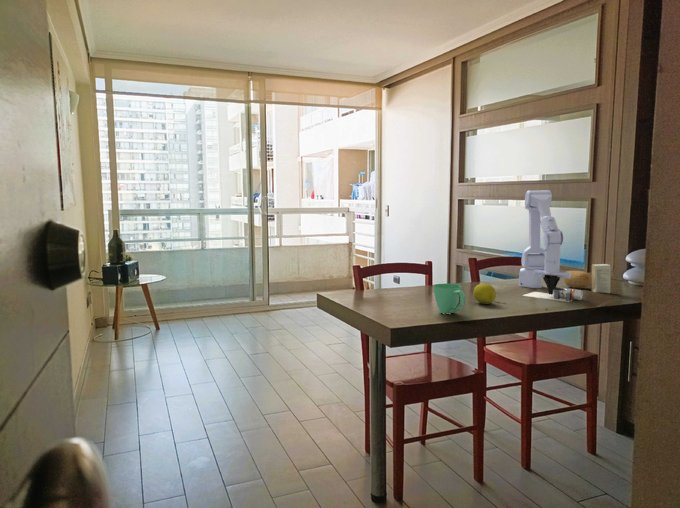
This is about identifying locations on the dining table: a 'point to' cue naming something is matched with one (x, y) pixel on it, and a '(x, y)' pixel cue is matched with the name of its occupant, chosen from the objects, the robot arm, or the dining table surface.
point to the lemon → (484, 293)
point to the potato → (578, 279)
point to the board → (544, 296)
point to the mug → (449, 297)
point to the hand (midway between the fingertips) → (551, 294)
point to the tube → (574, 292)
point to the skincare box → (601, 278)
